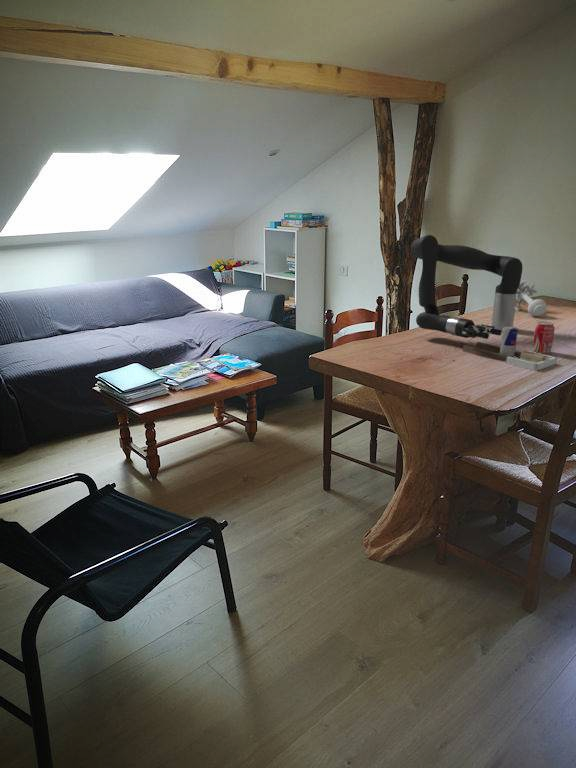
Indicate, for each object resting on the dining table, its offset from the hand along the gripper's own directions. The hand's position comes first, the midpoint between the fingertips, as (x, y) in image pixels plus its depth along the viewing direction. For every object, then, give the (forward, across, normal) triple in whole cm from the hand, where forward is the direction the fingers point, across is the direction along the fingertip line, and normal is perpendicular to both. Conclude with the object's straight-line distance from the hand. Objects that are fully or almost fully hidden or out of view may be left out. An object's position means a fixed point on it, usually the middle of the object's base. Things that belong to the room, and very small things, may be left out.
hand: (494, 334), depth 221 cm
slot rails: (0, 0, +8) cm, 8 cm away
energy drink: (+6, 0, +8) cm, 10 cm away
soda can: (+11, +18, +8) cm, 22 cm away
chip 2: (+19, 0, +8) cm, 21 cm away
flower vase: (-34, +84, +8) cm, 91 cm away
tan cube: (+15, 0, +8) cm, 17 cm away
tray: (+17, 0, +8) cm, 18 cm away
